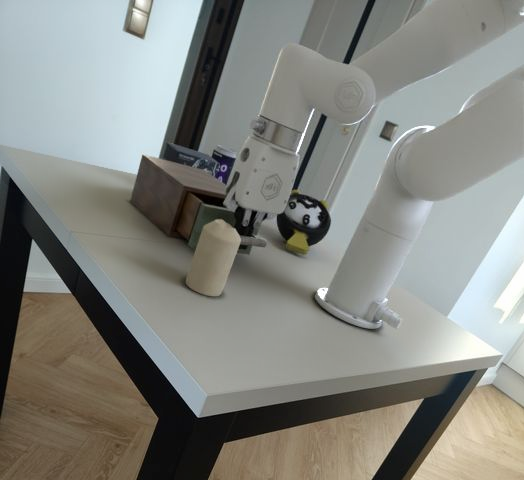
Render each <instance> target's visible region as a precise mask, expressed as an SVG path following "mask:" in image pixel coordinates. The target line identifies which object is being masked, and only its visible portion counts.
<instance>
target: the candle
mask: <svg viewBox="0 0 524 480" xmlns="http://www.w3.org/2000/svg"><path fill="white" fill-rule="evenodd" d="M240 242H241V238H240V236H239V234H238V233H237V231H236V229H235V228H232V226H231V225H229V224H228V223H226V222H225V221H224V220H222V219H219V220H214V221H212V222H210V223H208V224H206V225H204V227H203V229H202V232H201V235H200V238H199V241H198V245H197V248H195V251H194V254H193V257H192V259H191V263H190V266H189V269H188V272H187V274H186V278H185V284H186V286H187V287H188V288H190V289H191V290H193V291H194V292H197V293H199V294H201V295H203V296H208V297H219V296H220V295H222V293H223V290H224V288H225V286H226V282H227V280H228V278H229V274H230V271H231V269H232V266H233V264H234V261H235V259H236V256H237V254H238V253H237V250H238V248H239V245H240Z"/></svg>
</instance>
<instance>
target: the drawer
mask: <svg viewBox="0 0 524 480" xmlns="http://www.w3.org/2000/svg"><path fill="white" fill-rule="evenodd" d="M224 200H225V199H223V198H218V197H213V196H209V195H204V194H199V193H195V192H190V191H186V195H185V198H184V201H183V204H182V208H181V211H180V214H179V217H178V221H177V224H176V227H175V229H176V230H177V231H178V232H179V233H181V234H182V235H183V236H184V237H185V238H184V239H186V240H187V241H188V243H187V245H188V247H190V248H192V249H196V248H197V245H198V241H199V238H200V235H201V232H202V229H203V227H204V225H206V224H208V223H210V222H212V221H214V220H219V219H222V220H224V221H225V222H226V223H228V224H229V225H231V226H232V228H234V225H235V222H236V220H235V219H234V214H233V212H232V211H231V210H229V209H227V208H226V207H225V206H223V202H224ZM236 204H237V202H236ZM243 211H244V209H243ZM261 225H262V222H261V223H260V225H259V227H258V228H254V231H253V234H252V236H251V237H247V236H241V235H239V236H240V238H241V242H240V244H242V245H248V247H247V249H246V250H243V249H238V250H237V253H236V254H240V255H249V256H250V254H251V251H252V248H253V247H257V248H266V247H267V245H268V242H267V239H265V238H261V237H260V238H259V237H258V236H257V235H258V233H259V230H260V227H261Z"/></svg>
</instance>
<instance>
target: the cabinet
mask: <svg viewBox="0 0 524 480" xmlns="http://www.w3.org/2000/svg"><path fill="white" fill-rule="evenodd" d="M226 186H227V185H225V184H224V183H223V182H221V181H220V180H218V179H217V178H215V177H214V176H212V175H211V174H209V173H208V172H206V171H205V170H202V169H198V168H194V167H191V166H187V165H183V164H179V163H175V162H171V161H167V160H163V159H162V158H158V157H155V156H151V155H148V154H144V153H143V154H141V159H140V163H139V166H138V169H137V174H136V177H135V181H134V185H133V189H132V193H131V195H130V197H131V198H130V203H131V204H133V206H134V207H136V208H137V209H138V210H139V211H141V212H142V213H143V214H144V215H145V216H146V217H147V218H148V219H149V220H150V221H152V223H154V224H155V225H156V226H157V227H158V228H159V229H161V231H163V232H164V233H165V234H166V235H167V236H168V237H173V238H181V239H186V238H185V237H184V236H183V235H182V234H181V233H179V232H178V231H177V230H176V229H175V227H176V224H177V221H178V217H179V214H180V211H181V208H182V204H183V201H184V198H185V195H186V191H190V192H195V193H199V194H204V195H209V196H213V197H218V198H223V199H226V197H227V196H226V194H225V191H226ZM236 202H237V201H236Z"/></svg>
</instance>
